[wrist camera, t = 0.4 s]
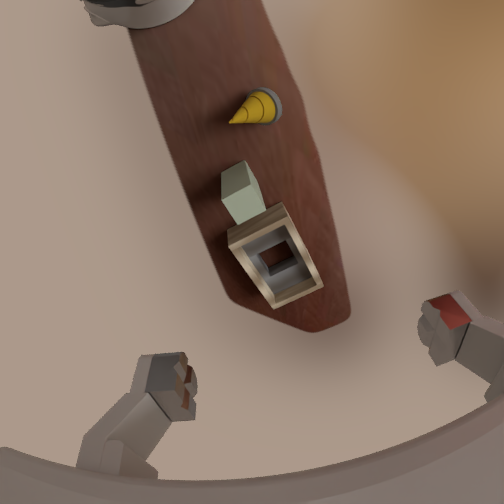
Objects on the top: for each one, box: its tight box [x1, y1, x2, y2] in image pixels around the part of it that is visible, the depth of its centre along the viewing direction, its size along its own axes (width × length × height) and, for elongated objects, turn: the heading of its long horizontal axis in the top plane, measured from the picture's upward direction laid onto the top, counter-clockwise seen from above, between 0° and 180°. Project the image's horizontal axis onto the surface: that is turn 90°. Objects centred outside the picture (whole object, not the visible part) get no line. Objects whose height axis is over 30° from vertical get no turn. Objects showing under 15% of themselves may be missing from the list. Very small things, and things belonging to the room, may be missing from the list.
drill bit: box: [229, 87, 282, 125], centre depth 35 cm, size 5×5×10 cm
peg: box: [221, 160, 266, 225], centre depth 40 cm, size 4×4×10 cm
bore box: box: [227, 202, 324, 309], centre depth 50 cm, size 16×10×5 cm, turn 28°
